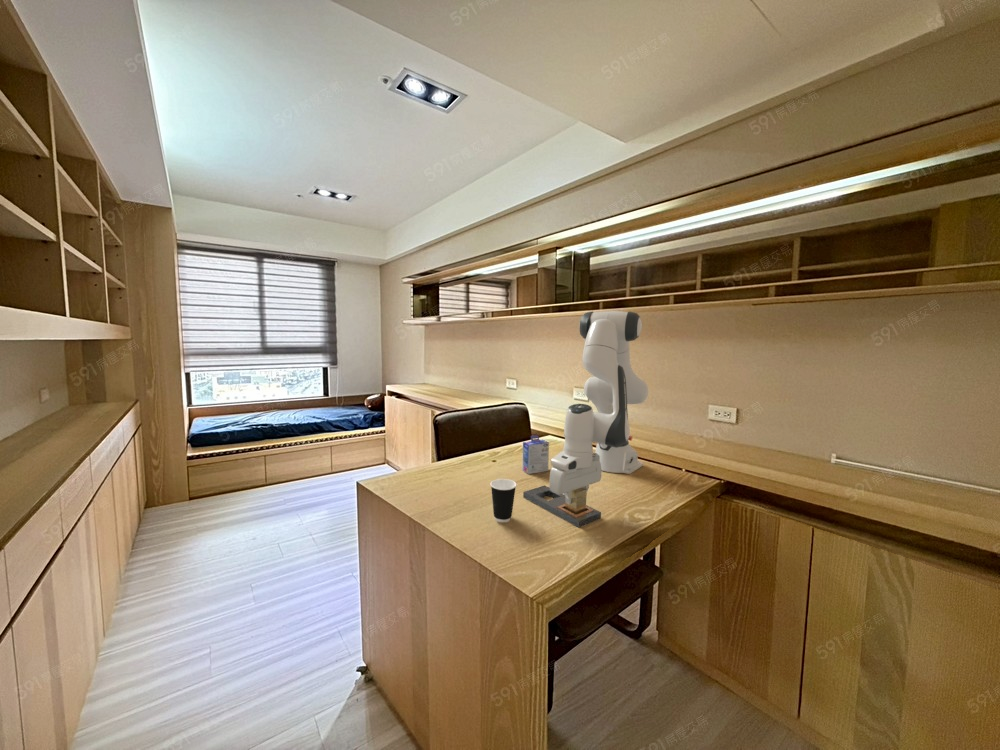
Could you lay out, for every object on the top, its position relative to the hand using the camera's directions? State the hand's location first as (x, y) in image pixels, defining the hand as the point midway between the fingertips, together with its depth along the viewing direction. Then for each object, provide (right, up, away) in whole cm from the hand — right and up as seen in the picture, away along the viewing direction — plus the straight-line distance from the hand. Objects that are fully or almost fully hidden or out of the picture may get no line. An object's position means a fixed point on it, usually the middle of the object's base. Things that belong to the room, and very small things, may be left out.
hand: (575, 500), depth 118 cm
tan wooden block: (0, -3, 0) cm, 3 cm away
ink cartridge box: (-9, -1, +39) cm, 40 cm away
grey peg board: (-4, -4, +6) cm, 8 cm away
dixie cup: (-23, -5, -3) cm, 23 cm away
